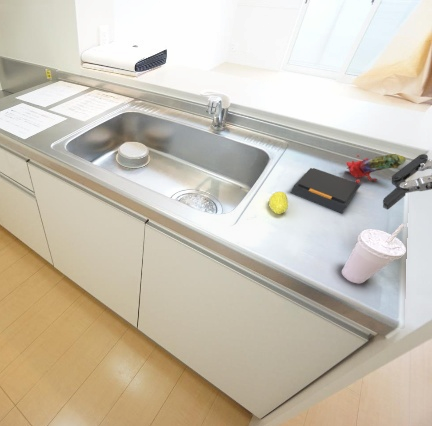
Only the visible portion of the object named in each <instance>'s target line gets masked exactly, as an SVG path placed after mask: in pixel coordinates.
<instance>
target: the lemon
mask: <svg viewBox="0 0 432 426" xmlns="http://www.w3.org/2000/svg"><path fill="white" fill-rule="evenodd" d="M268 205H269V208H270V210H271V211H272V212H273V213H275V214H278V215H280V214H283V213H285V212H286V211H287V210H288V209H289V202H288V196H287V193H286V192H284V191H275V192H274V193H272V195H271V196H270V197H269V200H268Z"/></svg>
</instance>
